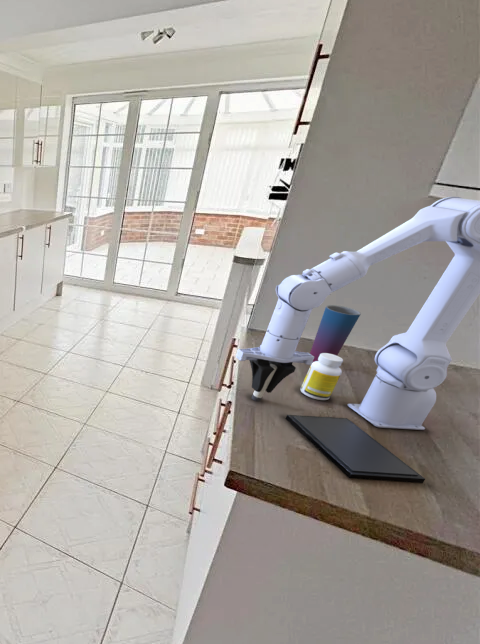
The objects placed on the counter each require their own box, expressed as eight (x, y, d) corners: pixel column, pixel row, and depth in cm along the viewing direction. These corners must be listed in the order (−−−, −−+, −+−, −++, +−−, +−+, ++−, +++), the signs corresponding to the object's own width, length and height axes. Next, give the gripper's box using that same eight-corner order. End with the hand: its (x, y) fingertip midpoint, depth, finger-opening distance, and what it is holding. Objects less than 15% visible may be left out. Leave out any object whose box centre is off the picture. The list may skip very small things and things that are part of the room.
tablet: (345, 422, 84) (347, 417, 84) (422, 483, 69) (426, 478, 69) (285, 418, 85) (287, 413, 84) (349, 478, 70) (352, 473, 69)
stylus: (257, 396, 92) (274, 363, 87) (262, 401, 91) (279, 368, 86) (249, 396, 92) (265, 363, 88) (253, 401, 91) (270, 368, 86)
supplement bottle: (334, 402, 91) (353, 364, 87) (307, 399, 92) (324, 361, 88) (320, 389, 96) (337, 352, 92) (294, 386, 97) (310, 349, 93)
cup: (297, 356, 111) (319, 305, 105) (319, 356, 112) (342, 304, 106) (319, 368, 105) (343, 315, 99) (342, 368, 106) (368, 314, 100)
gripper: (306, 327, 87) (283, 382, 93) (236, 324, 88) (218, 378, 94) (330, 342, 81) (304, 399, 87) (255, 338, 82) (234, 395, 87)
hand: (261, 389), depth 90 cm, fingers closed on stylus, 2 cm apart
